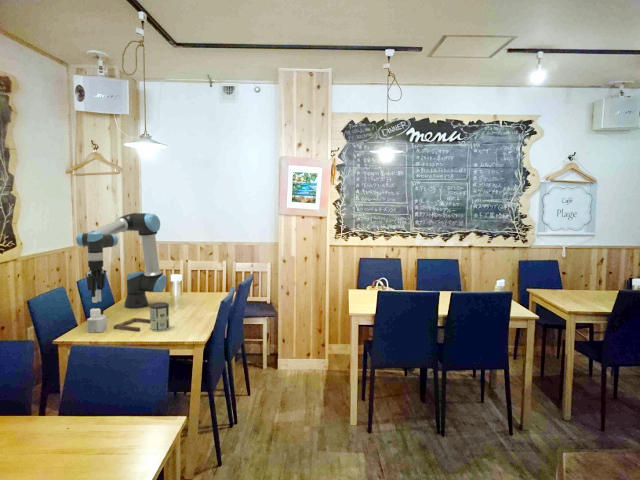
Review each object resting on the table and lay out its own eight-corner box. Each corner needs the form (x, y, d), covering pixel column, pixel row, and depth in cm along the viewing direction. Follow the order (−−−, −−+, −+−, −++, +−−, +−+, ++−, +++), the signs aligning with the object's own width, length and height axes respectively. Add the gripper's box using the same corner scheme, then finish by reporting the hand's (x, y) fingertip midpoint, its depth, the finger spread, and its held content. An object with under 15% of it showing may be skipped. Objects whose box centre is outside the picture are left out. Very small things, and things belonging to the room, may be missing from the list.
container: (93, 328, 258) (92, 306, 256) (107, 328, 258) (106, 306, 257) (87, 332, 250) (86, 309, 249) (101, 332, 251) (101, 309, 249)
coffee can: (159, 324, 267) (159, 301, 266) (173, 327, 263) (172, 303, 261) (146, 329, 258) (145, 305, 257) (159, 332, 254) (159, 307, 252)
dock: (134, 320, 275) (134, 317, 275) (157, 323, 271) (157, 320, 271) (113, 328, 258) (113, 325, 258) (137, 331, 254) (137, 328, 254)
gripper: (100, 257, 259) (101, 298, 261) (79, 261, 244) (80, 304, 246) (111, 258, 257) (112, 299, 259) (90, 262, 242) (91, 305, 244)
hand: (96, 301), depth 252 cm, fingers open, 2 cm apart
